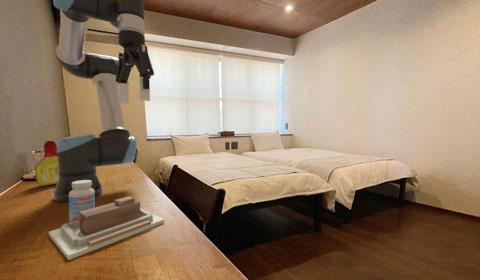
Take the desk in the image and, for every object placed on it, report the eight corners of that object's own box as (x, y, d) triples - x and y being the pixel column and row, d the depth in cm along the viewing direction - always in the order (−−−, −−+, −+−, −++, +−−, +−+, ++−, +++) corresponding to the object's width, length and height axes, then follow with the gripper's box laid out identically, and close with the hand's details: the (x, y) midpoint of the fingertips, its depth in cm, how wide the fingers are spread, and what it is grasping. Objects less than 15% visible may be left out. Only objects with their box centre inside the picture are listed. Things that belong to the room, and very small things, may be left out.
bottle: (36, 188, 96) (33, 142, 94) (35, 185, 100) (32, 141, 99) (71, 182, 105) (68, 140, 103) (68, 180, 109) (65, 139, 107)
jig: (49, 235, 55) (48, 225, 55) (136, 209, 72) (136, 201, 72) (68, 260, 45) (67, 248, 45) (164, 222, 62) (164, 214, 62)
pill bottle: (73, 226, 59) (72, 185, 59) (66, 221, 63) (65, 181, 63) (98, 219, 64) (97, 181, 64) (90, 214, 68) (90, 178, 68)
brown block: (80, 231, 55) (78, 207, 55) (132, 214, 66) (131, 194, 65) (87, 237, 52) (85, 212, 52) (140, 219, 62) (139, 198, 62)
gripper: (102, 39, 74) (105, 103, 76) (140, 17, 59) (142, 98, 61) (125, 45, 80) (127, 104, 82) (165, 26, 65) (166, 100, 66)
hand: (134, 102), depth 71 cm, fingers open, 13 cm apart
